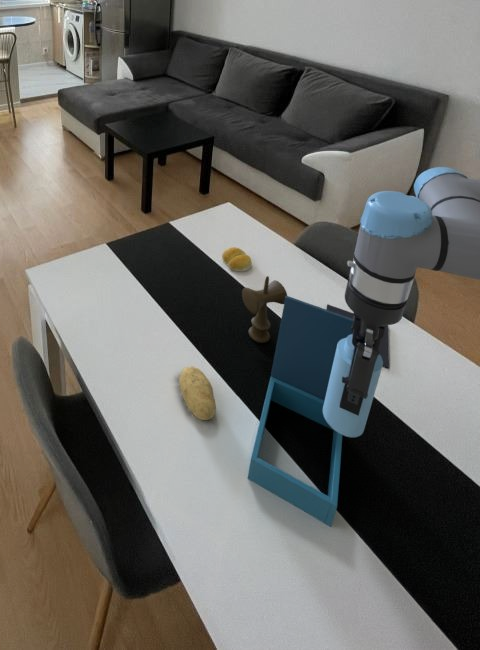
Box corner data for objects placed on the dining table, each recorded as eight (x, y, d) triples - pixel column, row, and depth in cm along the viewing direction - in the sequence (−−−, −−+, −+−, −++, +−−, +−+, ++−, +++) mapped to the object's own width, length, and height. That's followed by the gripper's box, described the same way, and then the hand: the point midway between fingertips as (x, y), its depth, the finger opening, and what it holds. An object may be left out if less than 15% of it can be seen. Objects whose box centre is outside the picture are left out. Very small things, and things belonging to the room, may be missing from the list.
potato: (202, 377, 101) (203, 358, 99) (222, 425, 91) (224, 406, 89) (174, 381, 101) (175, 362, 98) (191, 430, 91) (193, 411, 88)
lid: (364, 325, 80) (364, 323, 81) (285, 297, 88) (285, 295, 88) (344, 409, 85) (344, 406, 86) (270, 375, 92) (271, 373, 93)
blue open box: (329, 533, 74) (337, 506, 71) (246, 484, 81) (250, 458, 78) (337, 434, 88) (344, 409, 86) (266, 400, 96) (270, 376, 93)
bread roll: (235, 276, 131) (236, 265, 130) (217, 257, 139) (218, 247, 138) (257, 268, 134) (259, 258, 132) (238, 251, 141) (240, 241, 140)
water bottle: (364, 412, 77) (388, 328, 69) (363, 445, 72) (389, 358, 64) (324, 394, 80) (342, 312, 73) (320, 424, 75) (340, 340, 68)
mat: (387, 326, 112) (388, 325, 112) (388, 368, 101) (389, 367, 101) (327, 305, 119) (327, 304, 119) (321, 342, 108) (322, 341, 108)
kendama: (235, 332, 113) (242, 272, 105) (266, 322, 115) (275, 263, 107) (250, 351, 107) (258, 290, 100) (282, 340, 110) (293, 280, 102)
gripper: (351, 243, 74) (330, 340, 83) (344, 323, 59) (319, 430, 68) (404, 257, 70) (376, 357, 79) (411, 346, 55) (375, 457, 64)
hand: (350, 391), depth 73 cm, fingers closed on water bottle, 6 cm apart
